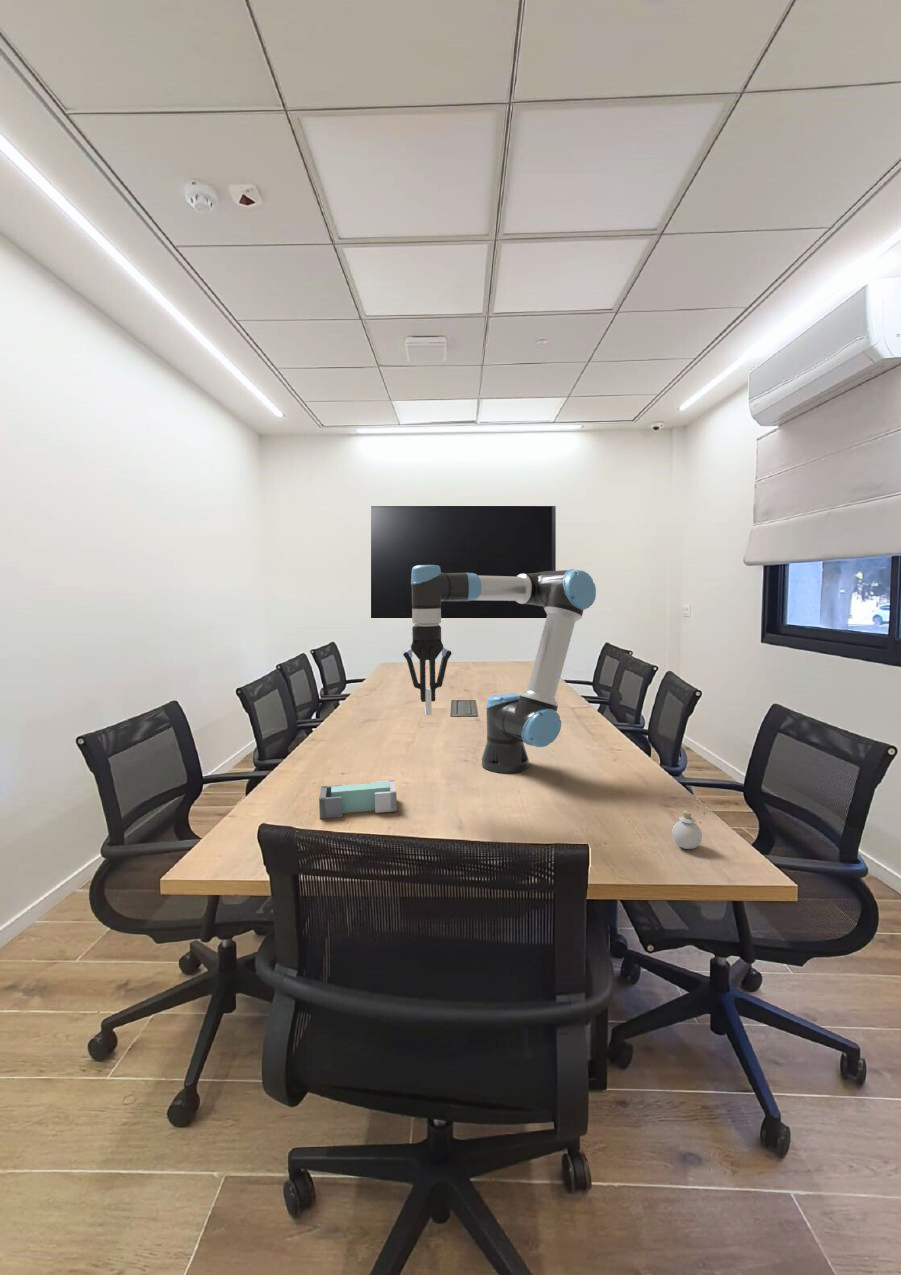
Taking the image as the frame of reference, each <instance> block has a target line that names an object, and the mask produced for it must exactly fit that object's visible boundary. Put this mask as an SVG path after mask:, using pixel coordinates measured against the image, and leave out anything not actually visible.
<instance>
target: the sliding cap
mask: <svg viewBox="0 0 901 1275" xmlns="http://www.w3.org/2000/svg"><path fill="white" fill-rule="evenodd" d="M382 782H389V786H390V791H389V792H376V793H375V810H374V811H375V812H374V813H375V814H379V813H391V812H398V805H397V804H398V802H397V788H396V784H395V780H394V779H391V780H390V779H389V780H377V781H373V783H382Z"/></svg>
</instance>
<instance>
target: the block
mask: <svg viewBox="0 0 901 1275" xmlns="http://www.w3.org/2000/svg"><path fill="white" fill-rule="evenodd" d="M332 786H333V787H331V797H338V796H342V814H348V813H350V812H351V813H360V812H369V811H371V812H372V811H375V793H376V792H389V791H390V786H389V782H382V783H374V782H372V783H361V784H360V783H359V784H348V785H347V784H346V785H342V786H335V785H332ZM351 813H350V814H351Z"/></svg>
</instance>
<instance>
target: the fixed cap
mask: <svg viewBox="0 0 901 1275" xmlns="http://www.w3.org/2000/svg"><path fill="white" fill-rule="evenodd" d="M333 786H343V785H342V784H338V785H337V784H336V785H326V786H325V785H324V786H323V785H322V786H321V787H320V791H319V792H320V793H319V798H318V804H319V806H318V807H319V819H320V818H322V819H333V818H332V817H334V818H342V817H343V813H342V796H338V797H331V787H333Z"/></svg>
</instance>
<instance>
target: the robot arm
mask: <svg viewBox="0 0 901 1275" xmlns="http://www.w3.org/2000/svg"><path fill="white" fill-rule="evenodd" d="M410 581H411V582H410V586H411V605H412V606H411V611H412V612H411V613H412V615H411V623H412V624H413V626H412V628H411V630H412V632H411V634H412V643H411V645H410V648H409V649H407V650H406V651H405V650H404V651H403V652H402V656H403V657H404V659H405V660H406V663H407V666H408V670H409V673H410V678H411V682H412V686H413V687H414V688H415V689H418V690H419V691H420V693H419V694H420V698H419V699H420V701H421V703H424V714H425V716H431V715H433V713H432V702H435V701H436V689H439V688H442V686H443V683H444V679H445V674H446V670H447V667H448V666H447V665H448V661H449V659H450V657H451V656H452V655H453V654H452V651H451V650H450V649H447V648H445V647H444V644H443V643H442V626H441V625H440V624H441V623H442V613H441V612H442V609H441V608H442V602H470V601H499V602H500V601H505V602H506V601H508V602H511V601H512V602H514V601H515V602H516V603H518V604H521V605H531V606H532V605H533V606H537V607H538V606H539V607H543V609H544V611H545V614H546V619H545V622H544V626H543V630H542V634H541V637H540V641H539V644H538V648H537V653H536V654H535V655H536V656H535V659H534V663H533V667H532V670H531V674H530V678H529V681H528V685H527V689H526V691H525V692H523V693H506V694H505V693H503V694H496V695H492V696H489V697H488V698H487V700H486V708H485V710H486V743H485V747H484V750H483V753H482V756H481V767H482V768H483V769H485V770H486V771H491V772H494V773H501V774H502V773H504V774H505V773H506V774H508V773H509V774H510V773H511V774H512V773H519V772H523V771H524V770H527V769H528V768H529V762H530V761H529V760H530V759H529V756H528V753H527V750H526V747H525V744H526V745H528V746H532V747H536V748H544V747H547V746H549V745H550V744H552V743H554V741H555V740H557V738H558V736H559V734H560V732H561V729H562V720H561V716H560V715H559V713H558V707H559V704H558V703H557V701H556V695H557V691H558V689H559V688H558V687H559V685H560V680H561V676H562V673H563V668H564V666H565V662H566V658H567V654H568V651H569V646H570V643H571V638H572V635H573V632H574V627H575V624H576V622H578V621H579V620H581V619H582V618H583V614H584V611H586V610H587V609H589V608H590V607H591V606H592V605H593V604H594V603H595V600H596V596H597V588H596V584H595V582H594V580H593V578H592V576H591V575H590V574H589V573H588V572H587V571H585V570H582V569H581V570H580V569H575V568H574V569H572V568H571V569H567V570H566V569H565V570H564V569H563V570H546V571H540V572H539V571H538V572H534V573H519V574H517V575H516V576H509V575H507V576H505V575H503V576H502V575H478V574H476V573H474V572H446V573H445V572H442V571H441V566H440V565H436V564H422V565H421V564H419V565H418V564H417V565H415V566H413V567H412V568H411V578H410ZM413 654H414V655H415V656H416V658H417V659H418V660H419V681H418V678H417V673H416V669H415V666H414V662H413V659H412V658H413ZM440 654H441V661H440V665H439V670H438V674H437V680H436V659H437V658H438V657H439V655H440ZM426 661H428V663H429V667H428V668H429V669H428V670H429V671H428V672H429V688H428V687H427V686H426V685H427V684H426V682H427V681H426V680H427V679H426ZM426 687H427V688H426Z"/></svg>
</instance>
